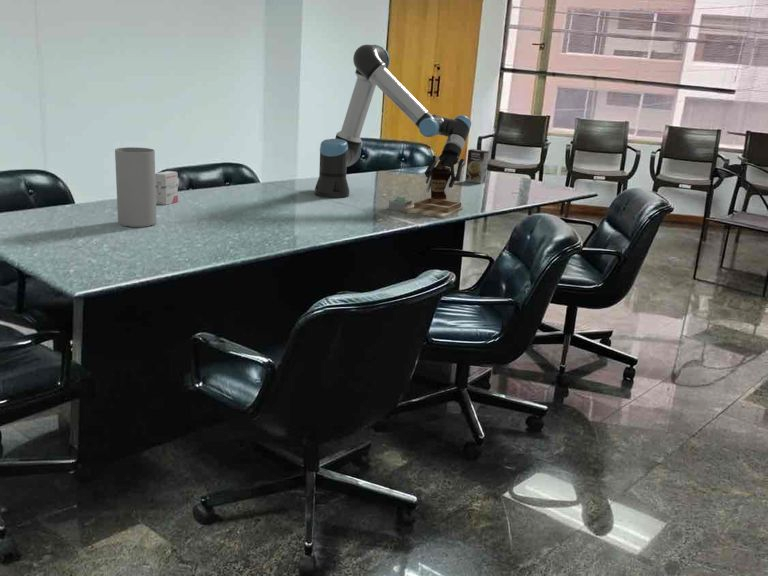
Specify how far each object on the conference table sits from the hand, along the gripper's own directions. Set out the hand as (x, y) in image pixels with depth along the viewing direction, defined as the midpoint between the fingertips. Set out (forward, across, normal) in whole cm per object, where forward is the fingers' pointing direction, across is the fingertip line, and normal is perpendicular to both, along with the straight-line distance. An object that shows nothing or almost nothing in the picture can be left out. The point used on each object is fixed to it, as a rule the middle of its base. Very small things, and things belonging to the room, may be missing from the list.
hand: (436, 191), depth 311 cm
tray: (+5, -1, +6) cm, 8 cm away
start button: (+9, -13, +1) cm, 16 cm away
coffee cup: (0, 0, +5) cm, 5 cm away
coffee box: (-54, -11, +66) cm, 87 cm away
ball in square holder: (+10, -13, +2) cm, 16 cm away
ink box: (+46, -89, -35) cm, 106 cm away
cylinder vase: (+70, -73, -59) cm, 117 cm away
